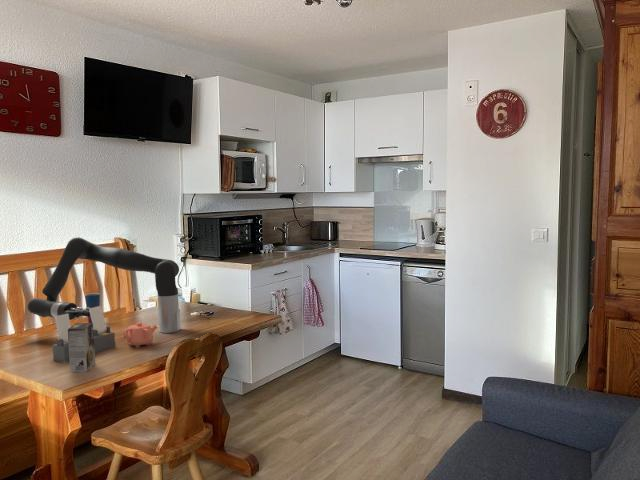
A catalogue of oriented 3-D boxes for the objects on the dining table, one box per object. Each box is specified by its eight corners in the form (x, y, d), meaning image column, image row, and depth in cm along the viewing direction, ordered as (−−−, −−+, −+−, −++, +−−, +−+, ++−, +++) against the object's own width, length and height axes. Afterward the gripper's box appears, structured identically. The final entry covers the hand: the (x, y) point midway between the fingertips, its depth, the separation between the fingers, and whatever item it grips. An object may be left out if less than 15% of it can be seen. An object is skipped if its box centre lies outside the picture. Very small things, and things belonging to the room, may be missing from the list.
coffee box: (78, 364, 205) (76, 322, 204) (95, 363, 205) (93, 322, 204) (69, 372, 196) (66, 328, 194) (87, 371, 196) (85, 328, 195)
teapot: (158, 341, 237) (157, 319, 236) (148, 348, 225) (147, 325, 224) (132, 341, 237) (131, 319, 236) (121, 348, 225) (120, 325, 225)
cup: (104, 322, 273) (102, 293, 271) (94, 326, 266) (93, 296, 265) (93, 322, 275) (91, 293, 274) (83, 325, 269) (81, 295, 267)
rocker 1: (60, 344, 211) (54, 316, 211) (71, 341, 215) (65, 314, 216) (63, 343, 210) (56, 315, 211) (74, 340, 214) (68, 313, 215)
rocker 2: (95, 334, 225) (88, 308, 225) (104, 331, 229) (98, 306, 230) (97, 334, 224) (91, 308, 225) (107, 331, 229) (101, 305, 229)
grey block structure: (53, 359, 211) (52, 338, 211) (103, 344, 233) (102, 325, 232) (65, 362, 208) (63, 340, 207) (115, 346, 229) (114, 326, 228)
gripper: (50, 305, 231) (77, 308, 223) (76, 299, 242) (103, 302, 234) (51, 322, 231) (78, 326, 223) (77, 315, 243) (104, 319, 235)
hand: (91, 314), depth 229 cm, fingers closed
